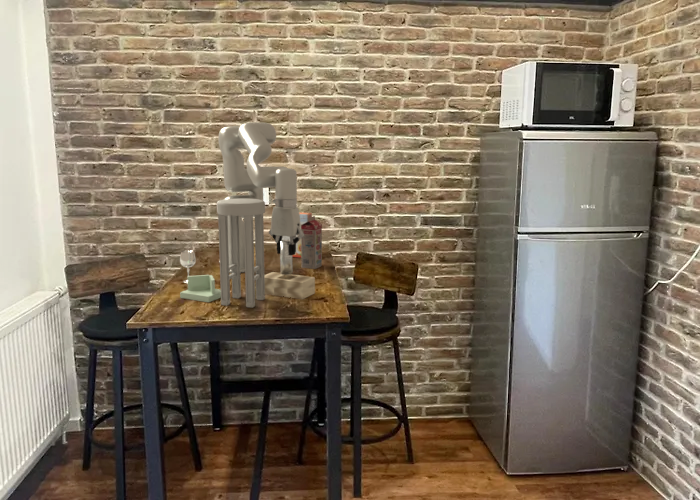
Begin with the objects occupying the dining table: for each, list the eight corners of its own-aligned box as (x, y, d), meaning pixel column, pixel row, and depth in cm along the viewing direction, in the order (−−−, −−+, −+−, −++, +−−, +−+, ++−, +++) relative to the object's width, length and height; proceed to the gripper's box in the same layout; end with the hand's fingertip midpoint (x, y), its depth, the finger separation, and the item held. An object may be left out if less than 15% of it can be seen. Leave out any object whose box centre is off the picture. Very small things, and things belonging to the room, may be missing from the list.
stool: (272, 297, 208) (270, 199, 201) (256, 309, 193) (253, 204, 186) (232, 294, 211) (229, 197, 204) (212, 306, 196) (208, 202, 190)
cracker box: (312, 256, 278) (312, 212, 274) (307, 258, 272) (307, 214, 268) (286, 254, 282) (285, 211, 278) (280, 256, 277) (279, 212, 273)
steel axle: (278, 273, 211) (277, 241, 209) (284, 271, 215) (284, 239, 213) (288, 275, 210) (288, 242, 207) (294, 272, 213) (294, 240, 211)
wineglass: (182, 283, 225) (181, 253, 223) (179, 280, 230) (178, 250, 228) (197, 282, 228) (196, 252, 225) (194, 279, 233) (193, 249, 230)
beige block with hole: (259, 293, 213) (259, 277, 212) (273, 287, 221) (272, 271, 220) (302, 299, 206) (302, 282, 205) (314, 293, 214) (314, 277, 213)
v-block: (198, 291, 214) (197, 272, 213) (225, 295, 209) (224, 276, 208) (180, 297, 206) (179, 278, 205) (208, 302, 201) (207, 282, 200)
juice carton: (301, 267, 254) (301, 217, 250) (308, 264, 260) (308, 215, 256) (315, 268, 252) (315, 218, 248) (321, 265, 258) (321, 216, 254)
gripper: (260, 203, 207) (260, 253, 211) (301, 206, 200) (301, 258, 204) (271, 200, 214) (272, 249, 218) (312, 204, 207) (311, 254, 211)
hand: (286, 253), depth 211 cm, fingers closed on steel axle, 4 cm apart
